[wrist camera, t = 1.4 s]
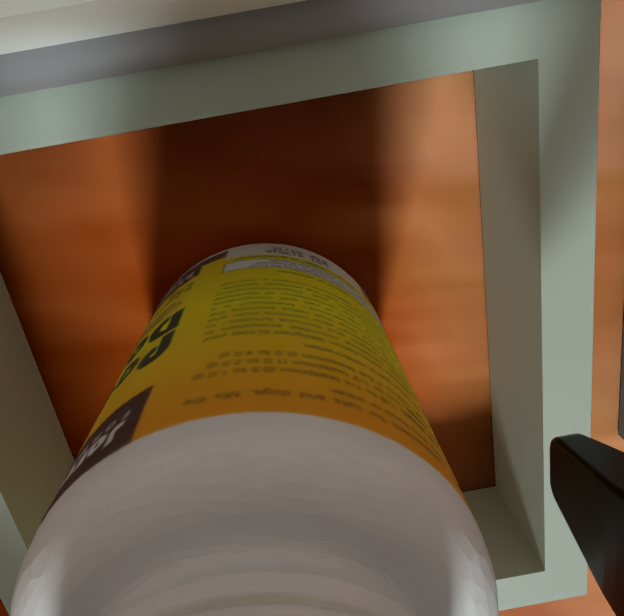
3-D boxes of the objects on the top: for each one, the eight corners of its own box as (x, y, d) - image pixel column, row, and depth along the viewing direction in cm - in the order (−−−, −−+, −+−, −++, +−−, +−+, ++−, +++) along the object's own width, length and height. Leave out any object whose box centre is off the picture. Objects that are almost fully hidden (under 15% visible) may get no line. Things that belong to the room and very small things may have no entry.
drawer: (530, 507, 16) (671, 729, 10) (88, 589, 16) (-11, 856, 10) (517, -45, 11) (778, -194, 5) (-133, 71, 11) (-563, 43, 5)
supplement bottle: (181, 205, 12) (-134, 589, 3) (411, 275, 13) (782, 742, 4) (129, 414, 14) (-173, 1095, 4) (335, 463, 15) (450, 1106, 5)
